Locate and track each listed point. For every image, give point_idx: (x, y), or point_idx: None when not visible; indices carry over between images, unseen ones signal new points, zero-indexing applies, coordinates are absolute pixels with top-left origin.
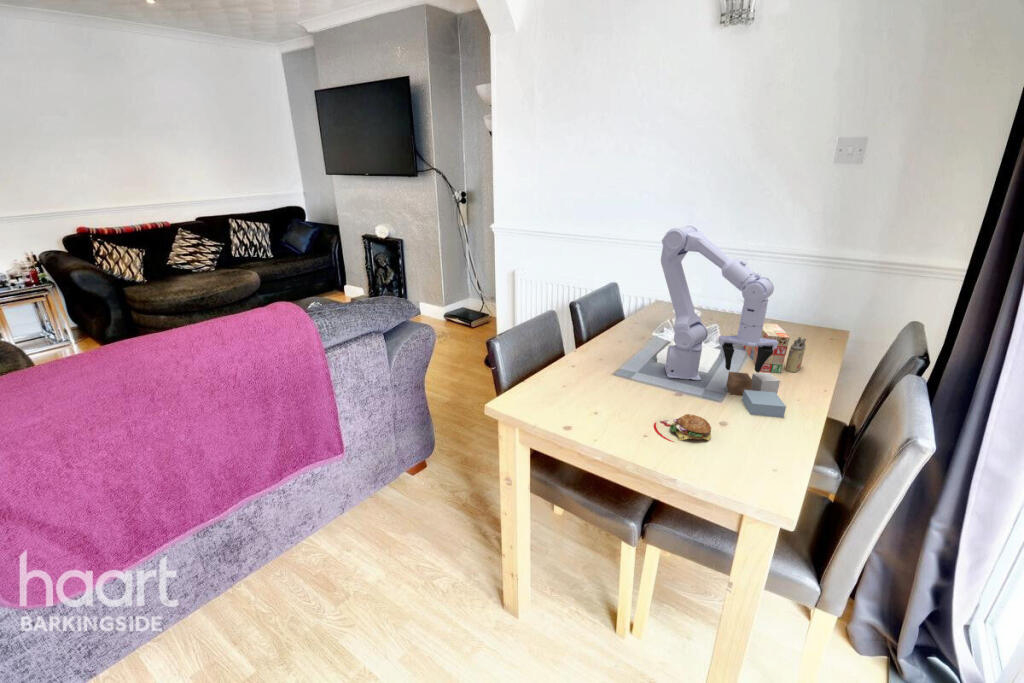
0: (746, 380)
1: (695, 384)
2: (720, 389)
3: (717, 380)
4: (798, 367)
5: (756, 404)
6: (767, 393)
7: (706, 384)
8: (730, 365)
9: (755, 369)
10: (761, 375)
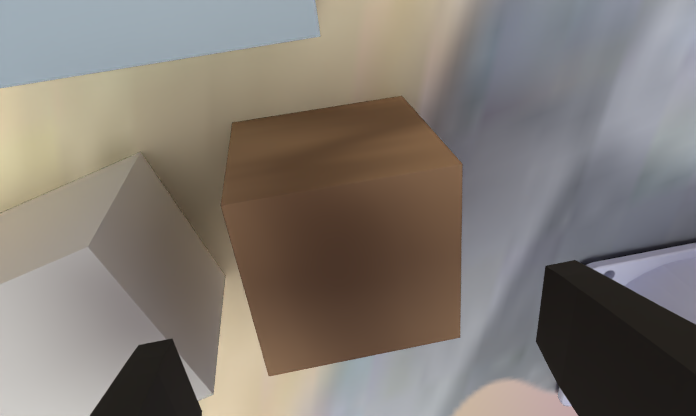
0: (297, 190)
1: (634, 193)
2: None
3: None
4: None
5: None
6: (13, 22)
7: (549, 225)
8: (607, 303)
9: (189, 400)
10: None
